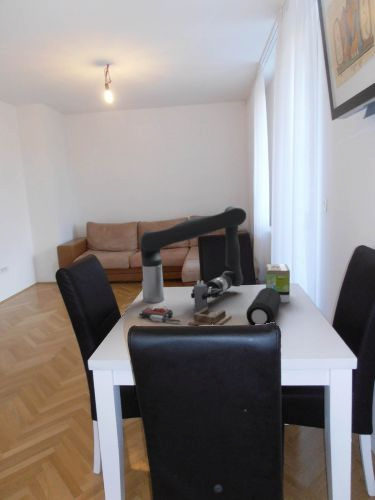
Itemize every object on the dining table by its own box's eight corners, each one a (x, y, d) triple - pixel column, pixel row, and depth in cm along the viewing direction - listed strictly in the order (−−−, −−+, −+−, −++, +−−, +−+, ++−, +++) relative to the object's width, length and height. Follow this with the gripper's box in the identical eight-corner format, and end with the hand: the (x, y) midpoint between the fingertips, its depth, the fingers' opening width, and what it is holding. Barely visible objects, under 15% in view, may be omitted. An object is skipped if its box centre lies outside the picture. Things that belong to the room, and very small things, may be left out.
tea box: (290, 302, 156) (290, 270, 153) (267, 302, 158) (266, 270, 155) (287, 293, 170) (286, 263, 168) (265, 293, 172) (265, 263, 170)
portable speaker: (258, 308, 151) (257, 285, 150) (282, 309, 148) (281, 286, 146) (245, 330, 128) (244, 303, 126) (273, 333, 124) (272, 305, 123)
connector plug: (194, 310, 152) (193, 281, 150) (199, 307, 155) (198, 279, 153) (203, 311, 150) (201, 282, 148) (207, 309, 153) (206, 280, 151)
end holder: (188, 324, 137) (188, 315, 136) (205, 313, 147) (204, 305, 147) (215, 329, 130) (215, 320, 129) (231, 317, 141) (231, 309, 140)
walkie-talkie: (136, 319, 145) (179, 325, 137) (135, 309, 145) (178, 314, 136) (147, 312, 153) (189, 317, 144) (147, 303, 152) (188, 307, 144)
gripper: (202, 277, 166) (182, 286, 152) (230, 280, 159) (211, 289, 145) (203, 292, 168) (183, 303, 154) (230, 296, 160) (212, 307, 146)
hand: (197, 296), depth 149 cm, fingers open, 4 cm apart
